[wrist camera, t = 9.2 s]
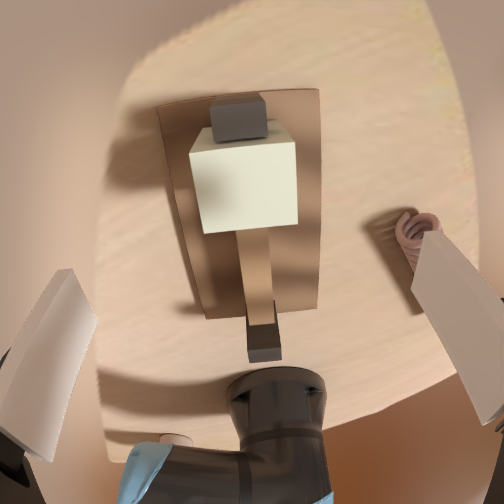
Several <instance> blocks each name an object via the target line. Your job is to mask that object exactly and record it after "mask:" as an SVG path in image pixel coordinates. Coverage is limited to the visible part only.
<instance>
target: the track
mask: <svg viewBox="0 0 504 504" xmlns="http://www.w3.org/2000/svg"><path fill="white" fill-rule="evenodd" d="M157 108H158V114H159V120H160V125H161V131H162V136H163V141H164V146H165V152H166V157H167V162H168V167H169V171H170V176H171V181H172V186H173V190H174V195H175V199H176V204H177V208H178V213H179V217H180V221H181V225H182V230H183V234H184V238H185V242H186V246H187V250H188V254H189V258H190V262H191V266H192V270H193V274H194V277H195V281H196V285H197V289H198V292H199V296H200V300H201V303H202V307H203V310H204V314H205V317H206V319H219V318H232V317H243V316H246V330H247V352H248V357H249V363H257V362H268V361H278V360H282V355H281V342H280V335H279V328H278V320H277V313H283V312H292V311H301V310H309V309H317V299H318V282H319V261H320V234H321V125H320V99H319V89H292V90H273V91H260V92H248V93H238V94H230V95H221V96H214V97H207V98H200V99H194V100H188V101H182V102H176V103H171V104H166V105H161V106H158V107H157ZM271 120H279V121H280V122H281V123H282V125H283V126H284V128H285V129H286V130H287V132H288V133H289V134H290V136H291V137H292V139H293V140H294V141H295V153H296V177H297V209H298V224H294V225H283V226H273V227H263V228H253V229H243V230H233V231H224V232H215V233H205V234H204V231H203V226H202V221H201V216H200V211H199V206H198V201H197V196H196V190H195V185H194V180H193V174H192V169H191V163H190V157H189V152H190V150H191V148H192V147H193V145H194V143H195V141H196V139H197V137H198V136H199V134H200V132H201V130H202V128H206V127H212V132H213V139H214V142H218V141H226V140H235V139H244V138H254V137H265V136H268V126H267V121H271Z"/></svg>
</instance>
